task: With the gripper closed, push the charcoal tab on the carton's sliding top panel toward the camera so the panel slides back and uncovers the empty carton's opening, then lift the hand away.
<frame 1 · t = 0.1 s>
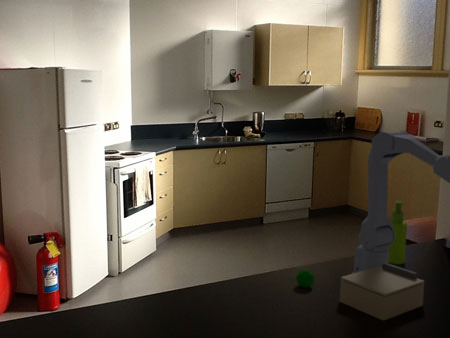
carton lid: (382, 276, 139), point 7 cm above the counter, slide at 0.0 cm
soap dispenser: (395, 261, 175), on the counter
carton: (380, 303, 140), on the counter
green ball: (304, 287, 151), on the counter
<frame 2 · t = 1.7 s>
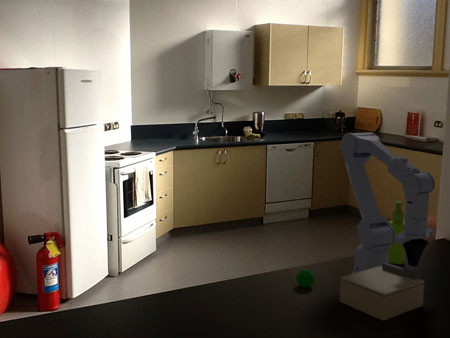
hand: (412, 265, 146), 8 cm above the counter, fingers closed
nothing on the counter moved.
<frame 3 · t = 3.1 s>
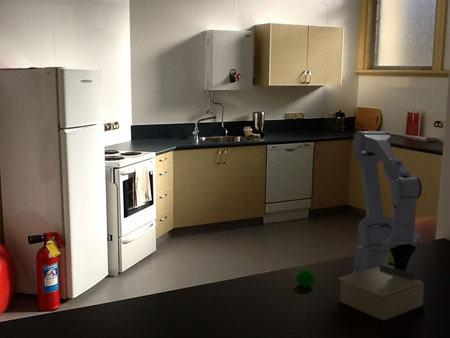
hand: (400, 271, 143), 7 cm above the counter, fingers closed
carton lid: (379, 277, 138), point 7 cm above the counter, slide at 1.1 cm, touching gripper
everything else where it was.
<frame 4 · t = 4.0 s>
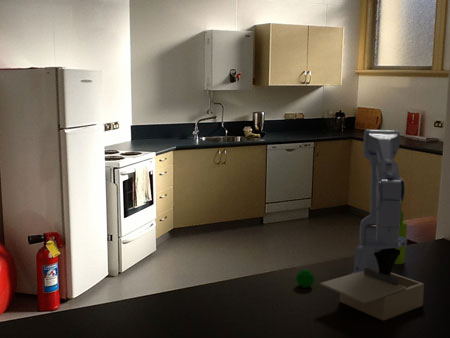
hand: (384, 275, 139), 7 cm above the counter, fingers closed
carton lid: (363, 282, 134), point 7 cm above the counter, slide at 7.6 cm, touching gripper
everything else where it was.
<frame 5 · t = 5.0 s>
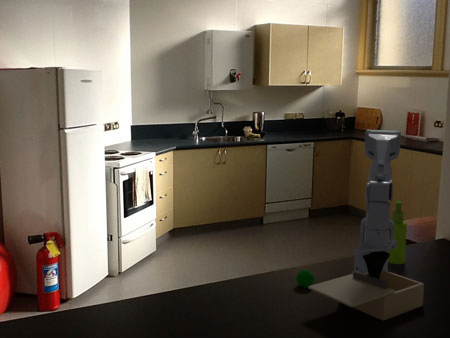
hand: (374, 279, 137), 7 cm above the counter, fingers closed
carton lid: (351, 286, 132), point 7 cm above the counter, slide at 12.0 cm, touching gripper
everything else where it was.
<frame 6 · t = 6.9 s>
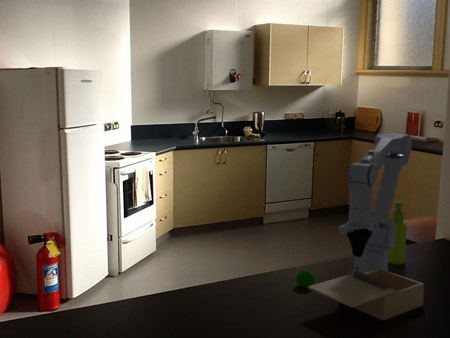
hand: (357, 255, 146), 10 cm above the counter, fingers closed
carton lid: (351, 286, 132), point 7 cm above the counter, slide at 12.0 cm
everything else where it was.
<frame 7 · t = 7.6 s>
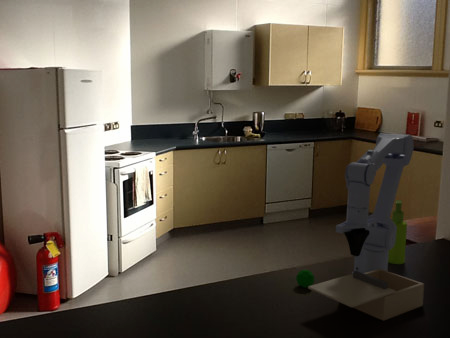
hand: (355, 255, 147), 10 cm above the counter, fingers closed
nothing on the counter moved.
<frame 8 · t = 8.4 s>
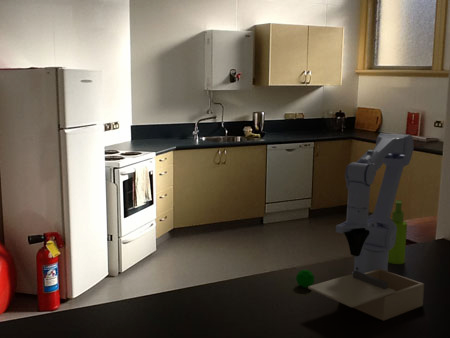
hand: (355, 255, 147), 10 cm above the counter, fingers closed
nothing on the counter moved.
at the end: carton lid slide at 12.0 cm; the gripper is holding nothing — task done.
